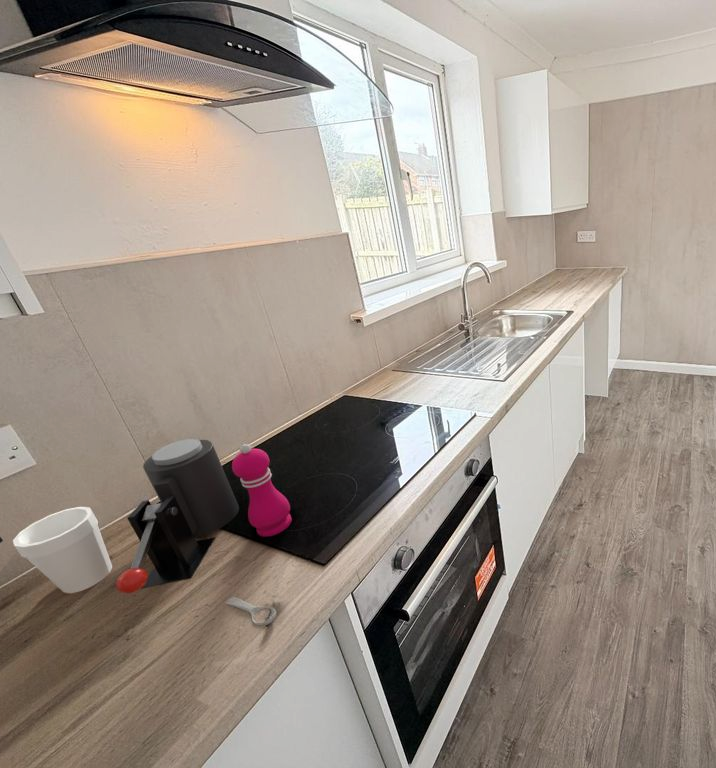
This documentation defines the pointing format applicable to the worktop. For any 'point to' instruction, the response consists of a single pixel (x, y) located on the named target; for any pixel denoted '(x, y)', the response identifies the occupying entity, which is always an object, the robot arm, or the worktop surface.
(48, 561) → the foam cup
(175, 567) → the bracket
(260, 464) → the pepper mill
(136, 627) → the worktop surface
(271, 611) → the bottle opener
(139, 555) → the red knob lever
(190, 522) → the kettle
